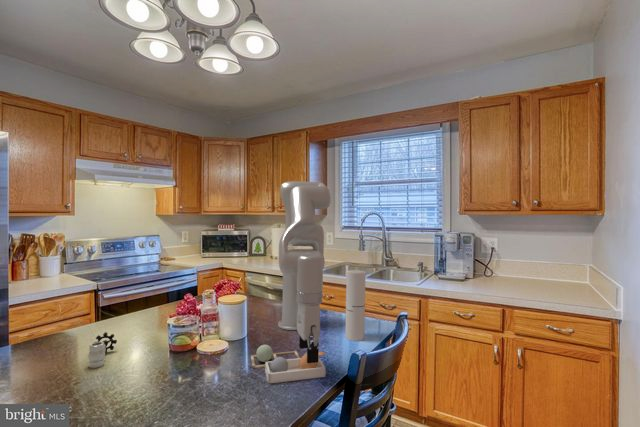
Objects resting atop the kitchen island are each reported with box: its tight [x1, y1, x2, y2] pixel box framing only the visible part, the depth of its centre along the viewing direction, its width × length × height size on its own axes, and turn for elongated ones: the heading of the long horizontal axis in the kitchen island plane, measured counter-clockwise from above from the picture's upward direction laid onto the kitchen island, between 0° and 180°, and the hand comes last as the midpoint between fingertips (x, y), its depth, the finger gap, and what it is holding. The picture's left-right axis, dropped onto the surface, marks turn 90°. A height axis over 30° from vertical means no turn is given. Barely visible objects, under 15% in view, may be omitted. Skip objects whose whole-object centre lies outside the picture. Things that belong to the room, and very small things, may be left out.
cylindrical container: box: [344, 269, 367, 342], centre depth 126 cm, size 7×7×25 cm
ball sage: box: [255, 344, 274, 363], centre depth 103 cm, size 5×5×5 cm
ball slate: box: [271, 356, 288, 373], centre depth 95 cm, size 5×5×5 cm
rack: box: [250, 350, 301, 369], centre depth 104 cm, size 8×15×1 cm, turn 106°
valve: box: [87, 331, 118, 369], centre depth 103 cm, size 7×7×12 cm
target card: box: [303, 350, 326, 357], centre depth 109 cm, size 6×9×1 cm, turn 106°
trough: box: [264, 356, 326, 385], centre depth 96 cm, size 8×16×3 cm, turn 106°
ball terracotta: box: [300, 354, 317, 369], centre depth 97 cm, size 5×5×5 cm
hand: (308, 354), depth 97 cm, fingers open, 9 cm apart
